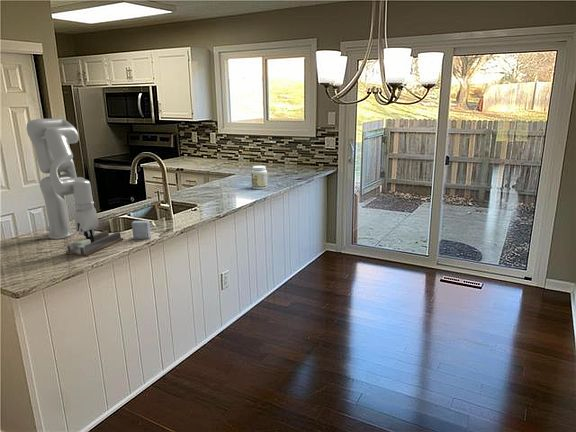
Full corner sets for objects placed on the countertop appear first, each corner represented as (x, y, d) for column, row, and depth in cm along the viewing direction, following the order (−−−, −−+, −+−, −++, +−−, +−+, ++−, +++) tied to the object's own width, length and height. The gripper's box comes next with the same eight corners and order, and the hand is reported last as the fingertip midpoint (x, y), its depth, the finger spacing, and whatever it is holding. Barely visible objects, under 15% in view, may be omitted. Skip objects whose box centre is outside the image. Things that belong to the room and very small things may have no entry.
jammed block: (74, 250, 194) (73, 241, 193) (83, 247, 199) (81, 238, 197) (83, 251, 192) (81, 242, 191) (91, 248, 197) (90, 239, 196)
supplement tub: (248, 188, 328) (247, 166, 324) (260, 185, 336) (260, 164, 332) (258, 190, 320) (257, 168, 315) (270, 188, 328) (270, 166, 323)
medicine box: (151, 236, 217) (149, 220, 214) (148, 239, 213) (147, 222, 210) (136, 236, 217) (134, 220, 214) (133, 239, 212) (131, 223, 210)
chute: (66, 253, 194) (64, 244, 193) (104, 237, 216) (103, 229, 214) (86, 256, 190) (84, 247, 189) (123, 240, 212) (122, 231, 210)
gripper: (90, 202, 202) (96, 237, 207) (65, 209, 189) (71, 247, 194) (103, 203, 200) (108, 239, 205) (78, 211, 186) (84, 249, 191)
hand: (90, 243), depth 199 cm, fingers closed
